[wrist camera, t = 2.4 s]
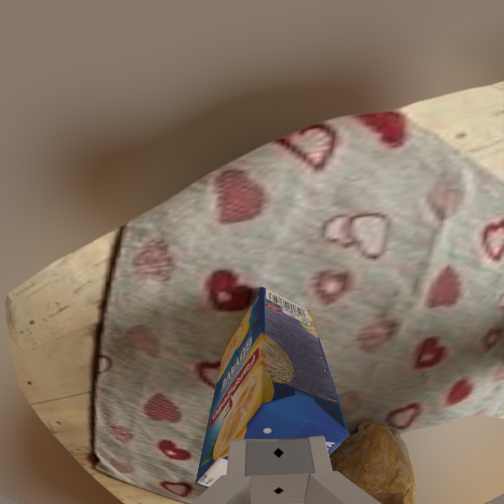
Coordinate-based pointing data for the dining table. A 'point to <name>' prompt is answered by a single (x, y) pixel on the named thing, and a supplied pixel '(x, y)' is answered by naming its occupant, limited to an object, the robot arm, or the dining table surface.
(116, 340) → the dining table surface
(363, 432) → the rough brown rock
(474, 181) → the dining table surface
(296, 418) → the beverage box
